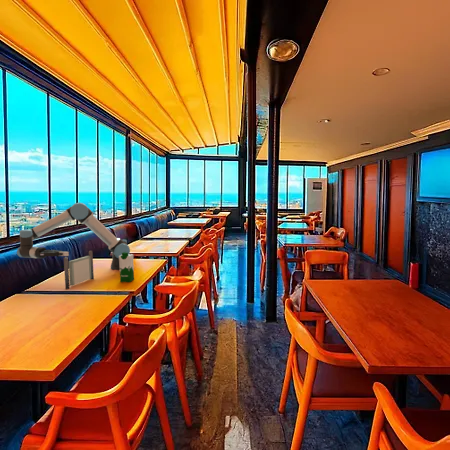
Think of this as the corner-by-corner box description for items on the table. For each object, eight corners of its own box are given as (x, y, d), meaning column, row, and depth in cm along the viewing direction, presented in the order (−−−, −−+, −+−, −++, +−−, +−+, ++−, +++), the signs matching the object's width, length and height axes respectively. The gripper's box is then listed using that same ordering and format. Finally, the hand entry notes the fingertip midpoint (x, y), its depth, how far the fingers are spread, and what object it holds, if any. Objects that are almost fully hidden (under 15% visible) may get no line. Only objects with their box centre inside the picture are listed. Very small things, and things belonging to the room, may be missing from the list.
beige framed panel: (88, 278, 237) (87, 255, 236) (91, 278, 237) (90, 255, 235) (70, 285, 219) (68, 261, 217) (72, 285, 218) (71, 261, 217)
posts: (91, 278, 241) (90, 250, 239) (94, 278, 240) (93, 250, 238) (64, 289, 214) (62, 258, 212) (67, 289, 213) (66, 258, 212)
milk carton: (118, 282, 228) (117, 253, 227) (123, 279, 237) (122, 251, 236) (131, 282, 228) (129, 253, 226) (135, 279, 237) (134, 251, 235)
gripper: (46, 256, 240) (74, 257, 234) (31, 259, 227) (61, 261, 222) (45, 246, 239) (74, 247, 234) (30, 248, 227) (60, 250, 221)
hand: (67, 253), depth 228 cm, fingers closed
